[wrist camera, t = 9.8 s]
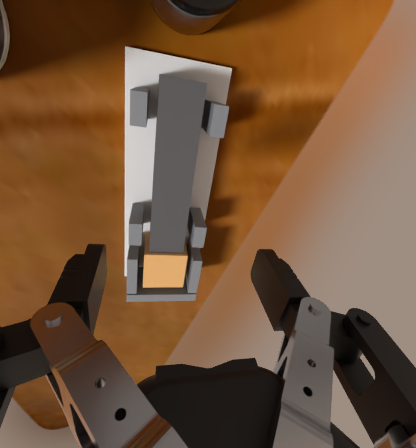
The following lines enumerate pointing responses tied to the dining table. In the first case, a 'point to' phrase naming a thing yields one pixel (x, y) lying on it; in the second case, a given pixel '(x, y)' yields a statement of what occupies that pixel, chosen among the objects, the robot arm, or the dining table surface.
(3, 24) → the coffee can
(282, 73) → the dining table surface
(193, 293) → the white grey holder tray
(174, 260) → the grey orange bar
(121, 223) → the dining table surface
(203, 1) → the supplement bottle
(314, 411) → the robot arm
